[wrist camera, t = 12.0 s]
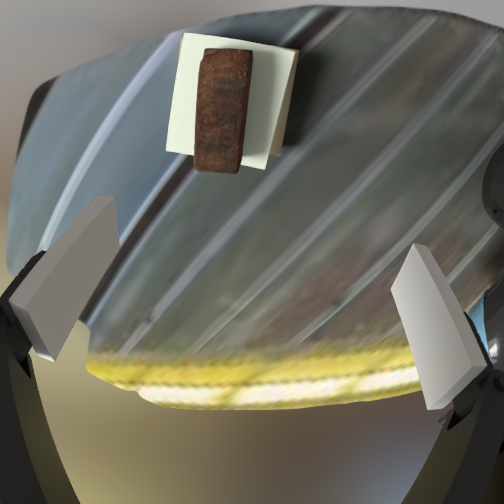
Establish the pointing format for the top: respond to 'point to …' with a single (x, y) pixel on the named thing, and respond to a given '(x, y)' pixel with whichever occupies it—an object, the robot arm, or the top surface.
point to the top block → (259, 104)
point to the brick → (222, 109)
